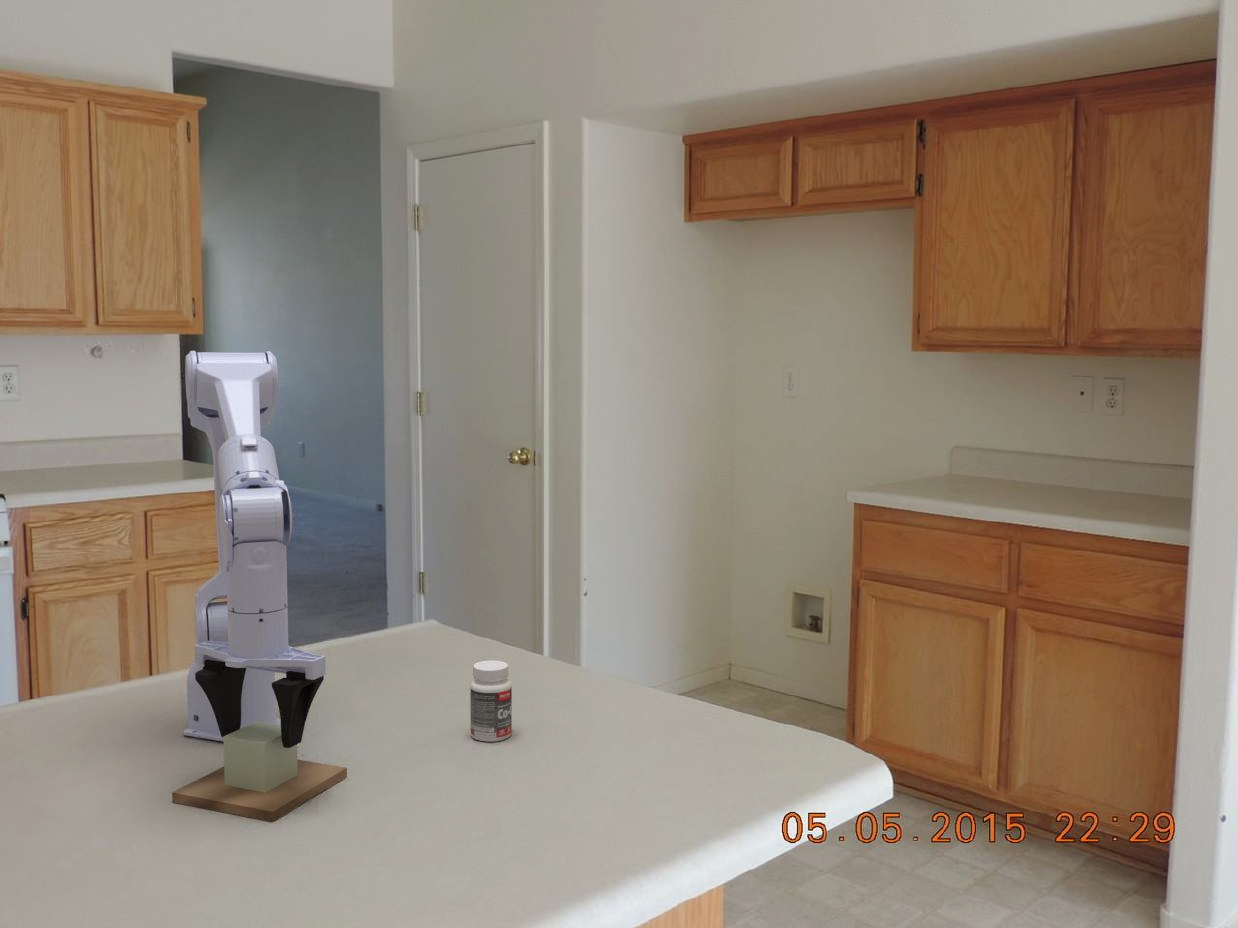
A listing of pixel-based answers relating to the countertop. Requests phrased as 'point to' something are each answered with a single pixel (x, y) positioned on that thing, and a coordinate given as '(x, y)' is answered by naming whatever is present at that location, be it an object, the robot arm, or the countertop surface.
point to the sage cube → (258, 758)
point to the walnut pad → (259, 804)
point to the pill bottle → (491, 702)
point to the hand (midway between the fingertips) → (261, 739)
